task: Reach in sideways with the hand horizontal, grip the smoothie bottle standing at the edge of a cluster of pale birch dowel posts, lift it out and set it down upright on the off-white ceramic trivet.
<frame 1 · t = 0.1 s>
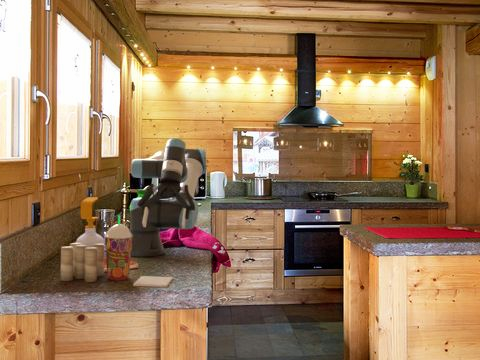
hand: (163, 226, 162), 15 cm above the countertop, tool tilted 35°, fingers open, 13 cm apart
spacer posts: (83, 277, 149), on the countertop
plastic bottle: (140, 246, 210), on the countertop
trivet: (153, 282, 145), on the countertop
smoothie: (118, 279, 148), on the countertop
soap bottle: (89, 270, 160), on the countertop
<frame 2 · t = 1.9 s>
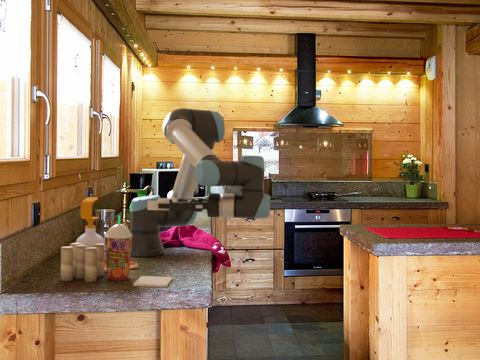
hand: (152, 203, 147), 24 cm above the countertop, tool horizontal, fingers open, 13 cm apart
nothing on the countertop moved.
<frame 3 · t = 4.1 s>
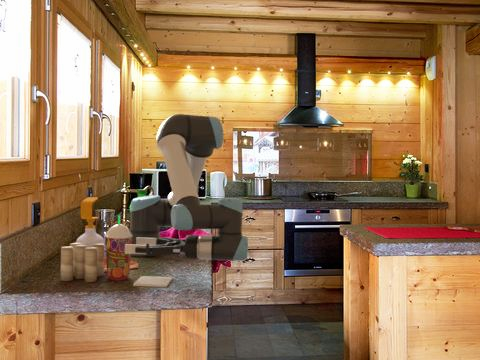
hand: (130, 245, 147), 11 cm above the countertop, tool horizontal, fingers open, 13 cm apart
nothing on the countertop moved.
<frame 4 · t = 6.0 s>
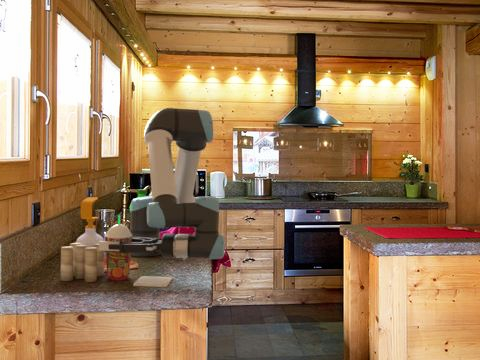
hand: (103, 243, 148), 11 cm above the countertop, tool horizontal, fingers closed on smoothie, 8 cm apart
smoothie: (118, 279, 148), on the countertop, touching gripper
everything else where it was.
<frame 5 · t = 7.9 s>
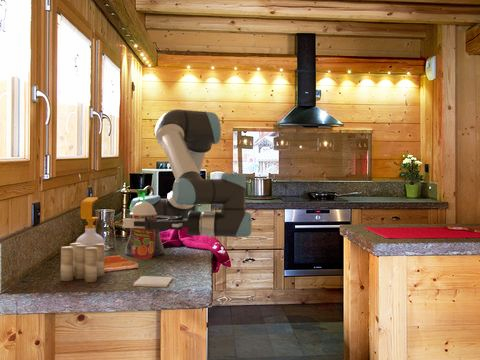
hand: (128, 221, 145), 19 cm above the countertop, tool horizontal, fingers closed on smoothie, 8 cm apart
smoothie: (142, 257, 145), point 7 cm above the countertop, touching gripper
everything else where it was.
when the fingers open (12 cm above the countertop, at t = 9.7 s): smoothie stays where it is, resting on trivet.
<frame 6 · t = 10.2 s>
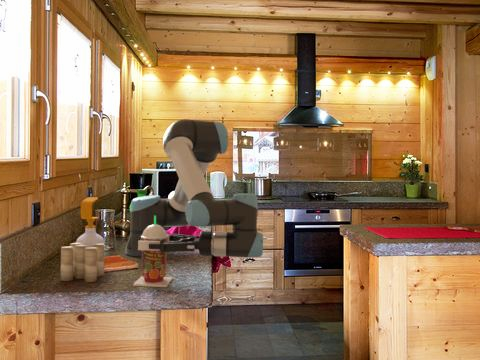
hand: (143, 241, 145), 12 cm above the countertop, tool horizontal, fingers open, 13 cm apart
smoothie: (153, 281, 145), resting on trivet
everything else where it was.
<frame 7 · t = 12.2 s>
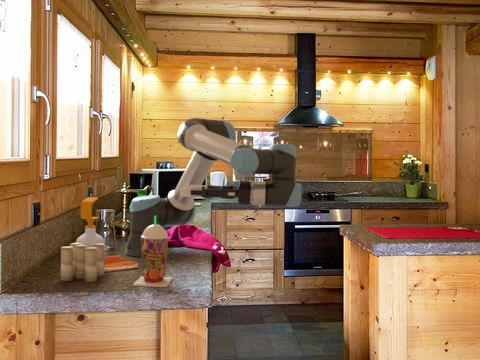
hand: (183, 190, 148), 29 cm above the countertop, tool horizontal, fingers open, 13 cm apart
nothing on the countertop moved.
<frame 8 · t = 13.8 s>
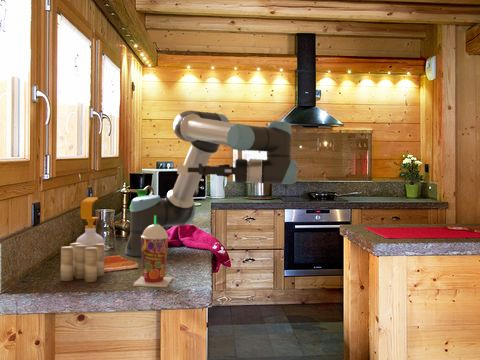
hand: (181, 169, 150), 35 cm above the countertop, tool horizontal, fingers open, 13 cm apart
nothing on the countertop moved.
at the end: smoothie inside the target area (0.0 cm from its centre), resting on trivet; smoothie tilted 0°; the gripper is holding nothing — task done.
